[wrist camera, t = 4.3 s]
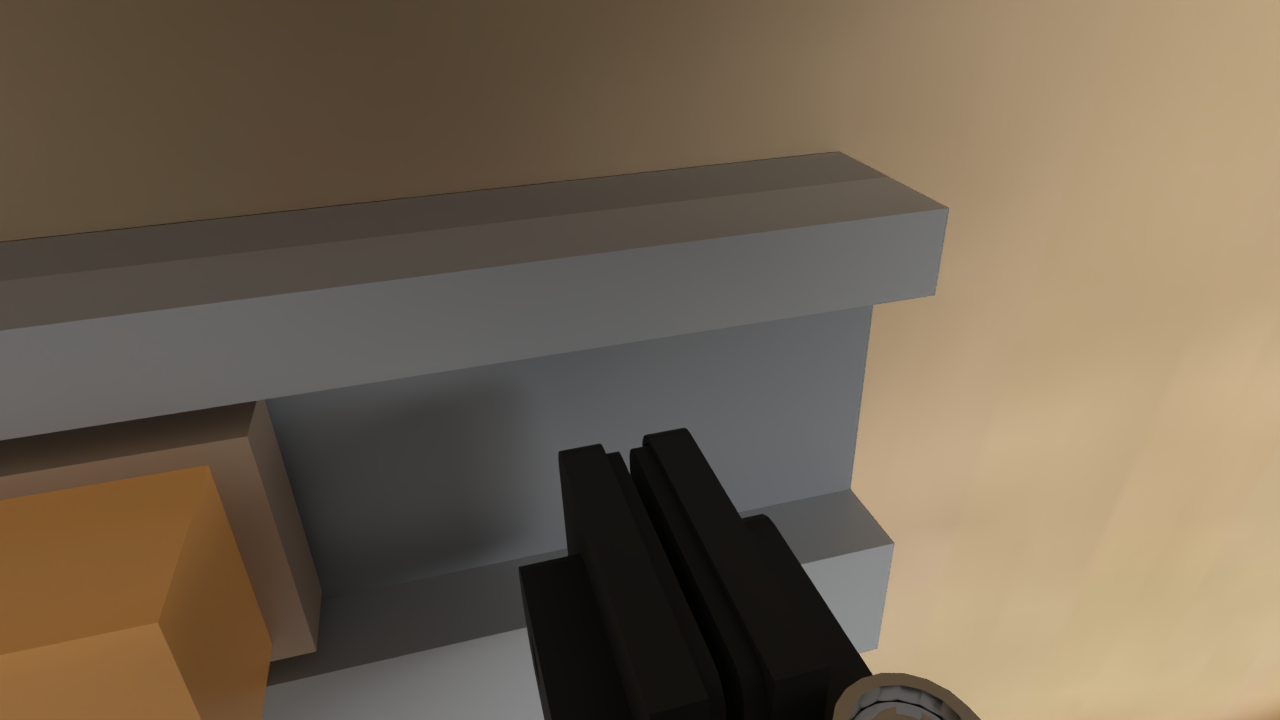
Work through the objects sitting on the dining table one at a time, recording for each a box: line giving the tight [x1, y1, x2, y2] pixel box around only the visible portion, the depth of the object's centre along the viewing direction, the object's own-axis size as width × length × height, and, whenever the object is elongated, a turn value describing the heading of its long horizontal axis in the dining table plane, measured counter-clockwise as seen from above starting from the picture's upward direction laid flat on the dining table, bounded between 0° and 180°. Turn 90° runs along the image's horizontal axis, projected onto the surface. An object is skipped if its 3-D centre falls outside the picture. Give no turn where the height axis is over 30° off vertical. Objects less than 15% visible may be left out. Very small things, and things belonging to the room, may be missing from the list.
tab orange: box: [0, 399, 322, 720], centre depth 9 cm, size 4×4×4 cm
